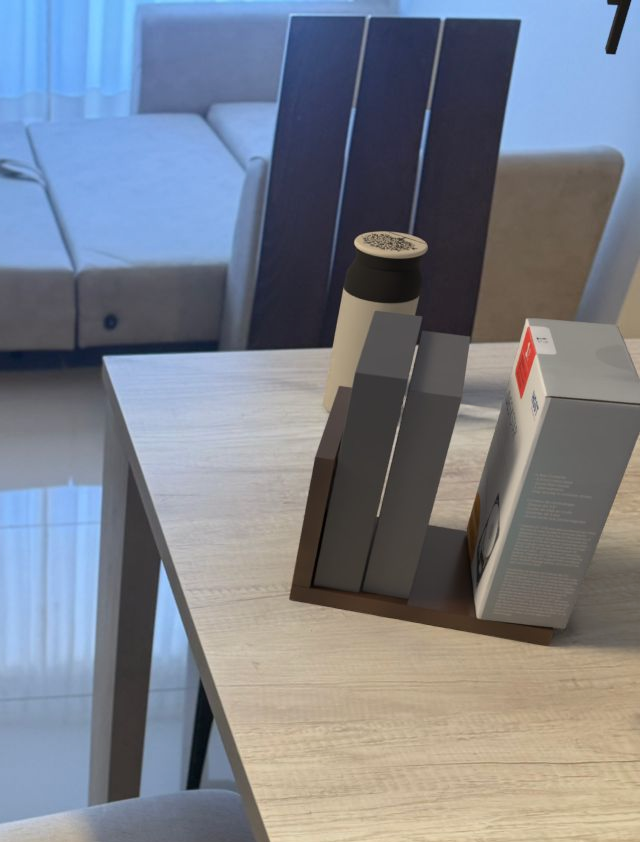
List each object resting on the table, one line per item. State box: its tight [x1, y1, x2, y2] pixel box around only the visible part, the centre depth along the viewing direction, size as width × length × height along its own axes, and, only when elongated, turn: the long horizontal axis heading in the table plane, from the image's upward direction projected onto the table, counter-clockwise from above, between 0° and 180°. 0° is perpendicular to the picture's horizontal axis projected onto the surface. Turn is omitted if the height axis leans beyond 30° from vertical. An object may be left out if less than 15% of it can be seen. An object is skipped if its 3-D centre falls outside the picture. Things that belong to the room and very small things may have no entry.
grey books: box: [313, 311, 471, 599], centre depth 99 cm, size 8×14×19 cm, turn 162°
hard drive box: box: [466, 317, 640, 630], centre depth 96 cm, size 16×8×20 cm, turn 168°
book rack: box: [288, 386, 555, 647], centre depth 101 cm, size 22×15×14 cm
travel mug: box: [322, 231, 429, 413], centre depth 126 cm, size 8×8×18 cm
